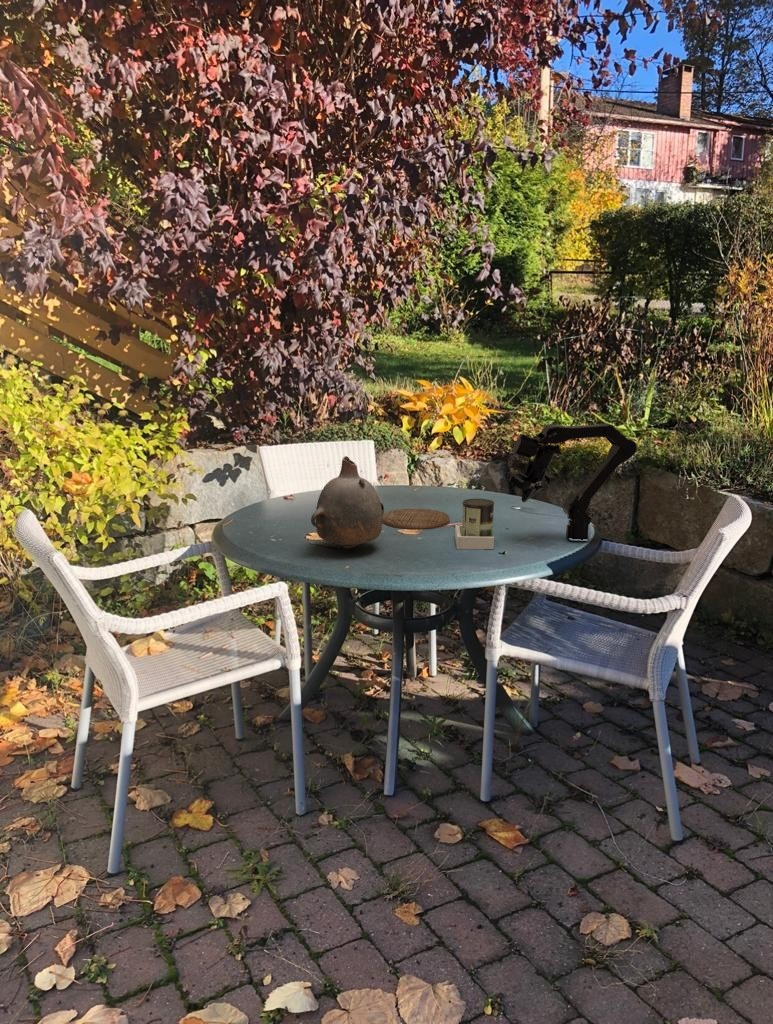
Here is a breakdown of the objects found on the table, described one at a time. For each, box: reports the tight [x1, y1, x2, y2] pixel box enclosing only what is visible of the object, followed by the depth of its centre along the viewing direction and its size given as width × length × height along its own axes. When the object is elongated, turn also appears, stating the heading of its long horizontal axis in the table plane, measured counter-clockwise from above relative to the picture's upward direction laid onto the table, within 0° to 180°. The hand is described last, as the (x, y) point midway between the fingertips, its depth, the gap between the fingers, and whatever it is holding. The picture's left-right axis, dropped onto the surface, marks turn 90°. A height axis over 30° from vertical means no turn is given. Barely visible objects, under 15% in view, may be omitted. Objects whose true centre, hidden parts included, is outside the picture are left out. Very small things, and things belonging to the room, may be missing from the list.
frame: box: [454, 524, 495, 550], centre depth 264 cm, size 12×15×4 cm
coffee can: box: [462, 498, 495, 537], centre depth 262 cm, size 10×10×14 cm
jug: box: [310, 455, 385, 550], centre depth 254 cm, size 24×21×30 cm
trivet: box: [382, 508, 450, 531], centre depth 292 cm, size 25×25×2 cm
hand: (523, 501), depth 268 cm, fingers closed
